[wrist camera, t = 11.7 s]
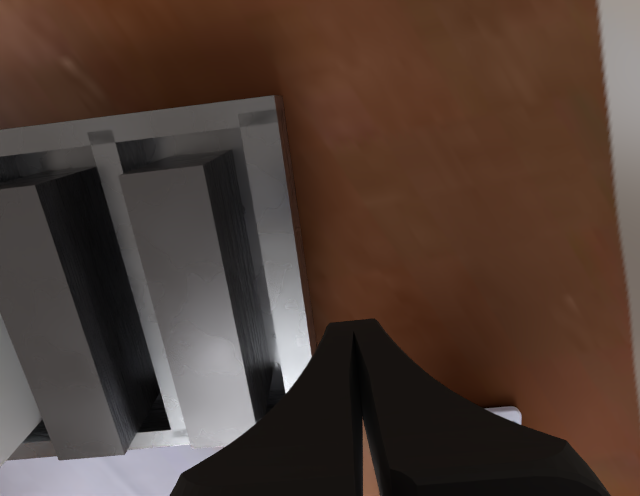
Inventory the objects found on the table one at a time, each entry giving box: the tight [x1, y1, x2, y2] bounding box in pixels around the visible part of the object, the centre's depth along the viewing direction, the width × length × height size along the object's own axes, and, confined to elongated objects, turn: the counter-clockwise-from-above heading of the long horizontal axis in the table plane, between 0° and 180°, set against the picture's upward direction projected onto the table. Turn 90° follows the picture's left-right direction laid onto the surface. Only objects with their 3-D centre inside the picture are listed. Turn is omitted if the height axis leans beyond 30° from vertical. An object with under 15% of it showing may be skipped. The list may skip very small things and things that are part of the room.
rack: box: [0, 95, 317, 460], centre depth 20 cm, size 16×20×6 cm
